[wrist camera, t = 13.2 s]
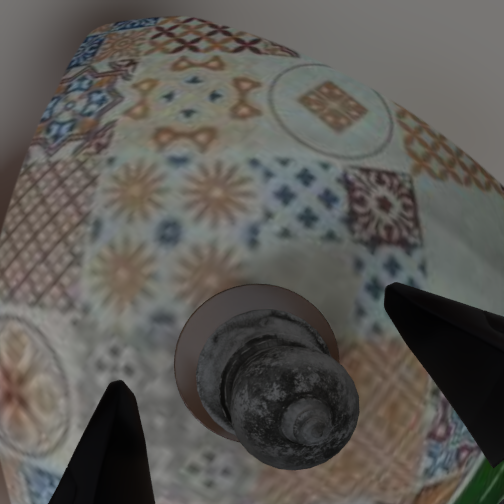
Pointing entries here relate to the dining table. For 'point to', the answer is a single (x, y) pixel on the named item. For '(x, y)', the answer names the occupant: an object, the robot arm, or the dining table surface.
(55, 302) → the dining table surface
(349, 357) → the dining table surface
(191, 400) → the walnut puck
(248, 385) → the grey stone chess piece
